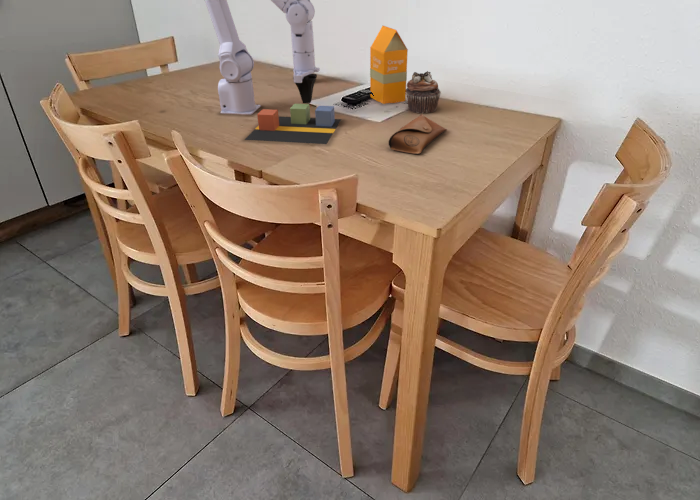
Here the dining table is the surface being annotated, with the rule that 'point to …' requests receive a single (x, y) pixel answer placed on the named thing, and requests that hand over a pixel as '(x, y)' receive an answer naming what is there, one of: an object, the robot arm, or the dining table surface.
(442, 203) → the dining table surface
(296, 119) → the sage block
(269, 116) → the terracotta block
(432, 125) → the sunglasses case
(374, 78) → the orange juice
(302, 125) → the line mat
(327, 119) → the blue block
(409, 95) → the cupcake
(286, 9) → the robot arm
